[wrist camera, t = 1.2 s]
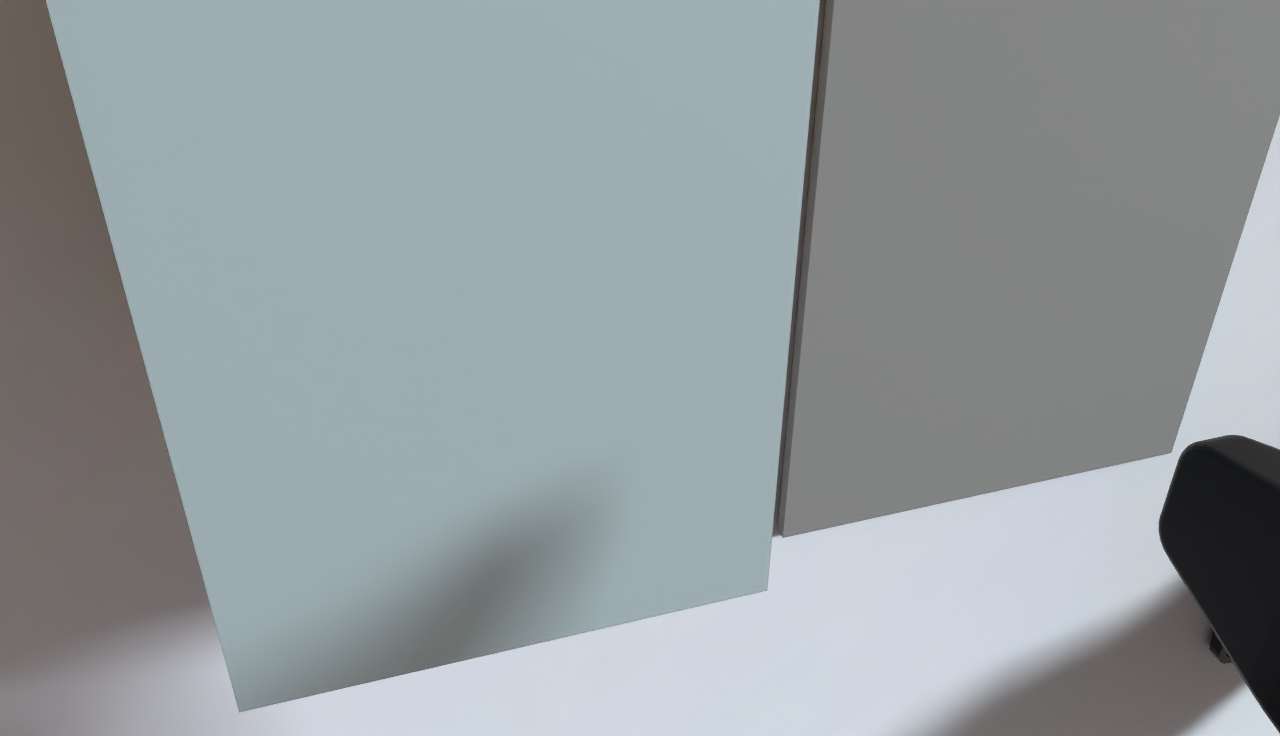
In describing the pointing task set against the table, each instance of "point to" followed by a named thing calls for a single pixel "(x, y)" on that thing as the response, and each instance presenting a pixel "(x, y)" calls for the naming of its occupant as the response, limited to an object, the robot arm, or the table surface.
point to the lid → (453, 307)
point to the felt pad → (1014, 239)
